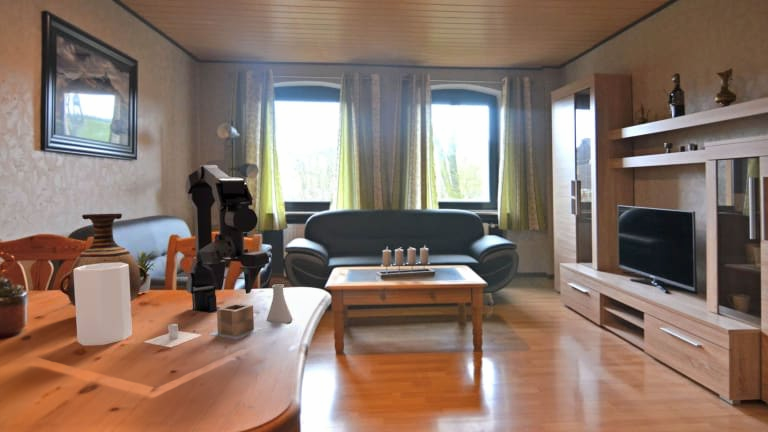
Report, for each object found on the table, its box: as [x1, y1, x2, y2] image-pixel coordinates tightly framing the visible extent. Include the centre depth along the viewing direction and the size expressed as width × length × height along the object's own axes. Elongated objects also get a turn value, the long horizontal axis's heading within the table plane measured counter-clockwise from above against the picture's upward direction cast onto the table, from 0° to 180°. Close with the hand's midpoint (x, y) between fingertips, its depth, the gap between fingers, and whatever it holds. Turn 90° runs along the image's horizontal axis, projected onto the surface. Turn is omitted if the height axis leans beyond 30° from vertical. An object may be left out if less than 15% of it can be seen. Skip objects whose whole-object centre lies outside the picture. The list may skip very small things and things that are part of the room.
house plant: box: [134, 249, 160, 292], centre depth 161 cm, size 14×14×16 cm
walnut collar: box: [216, 303, 255, 336], centre depth 111 cm, size 6×6×6 cm
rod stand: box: [144, 323, 203, 348], centre depth 107 cm, size 9×9×4 cm
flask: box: [265, 283, 293, 324], centre depth 123 cm, size 7×7×10 cm
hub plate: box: [208, 326, 264, 340], centre depth 111 cm, size 9×9×6 cm
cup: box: [73, 263, 133, 346], centre depth 108 cm, size 11×11×18 cm
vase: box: [58, 212, 148, 307], centre depth 132 cm, size 21×18×30 cm
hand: (233, 291), depth 112 cm, fingers open, 9 cm apart
